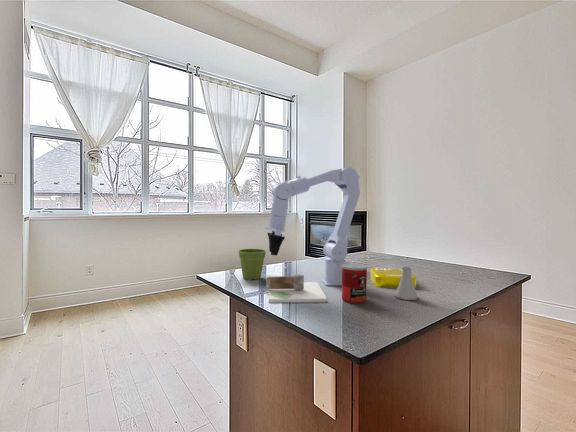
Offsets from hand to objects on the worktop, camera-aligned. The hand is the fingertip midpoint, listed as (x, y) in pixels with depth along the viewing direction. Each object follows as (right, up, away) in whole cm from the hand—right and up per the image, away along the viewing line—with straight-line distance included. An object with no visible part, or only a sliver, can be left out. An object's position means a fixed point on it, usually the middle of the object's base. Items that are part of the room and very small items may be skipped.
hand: (273, 253), depth 110 cm
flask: (+44, -13, -10) cm, 47 cm away
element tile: (+46, -13, +9) cm, 49 cm away
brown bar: (+4, -11, -7) cm, 14 cm away
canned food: (+26, -13, -13) cm, 32 cm away
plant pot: (-9, -12, +14) cm, 20 cm away
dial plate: (+8, -13, -7) cm, 16 cm away
